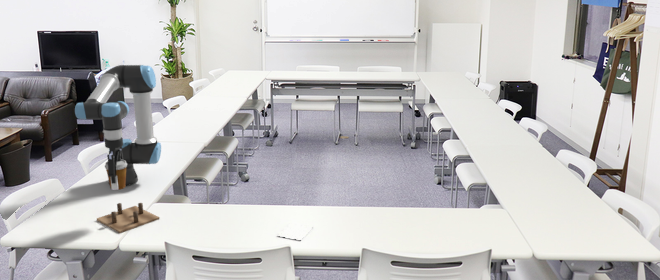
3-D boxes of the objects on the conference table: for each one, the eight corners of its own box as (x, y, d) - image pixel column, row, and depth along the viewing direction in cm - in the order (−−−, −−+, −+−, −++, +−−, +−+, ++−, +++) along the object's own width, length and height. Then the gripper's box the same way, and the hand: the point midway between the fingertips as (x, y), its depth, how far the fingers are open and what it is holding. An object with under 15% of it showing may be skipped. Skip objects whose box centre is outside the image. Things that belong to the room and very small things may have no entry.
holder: (135, 207, 268) (134, 196, 266) (159, 219, 256) (158, 207, 254) (96, 220, 253) (95, 208, 251) (120, 233, 241) (118, 220, 239)
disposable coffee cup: (121, 182, 255) (119, 157, 252) (133, 187, 250) (131, 162, 247) (102, 187, 248) (100, 162, 245) (114, 193, 243) (112, 167, 239)
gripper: (112, 131, 252) (116, 177, 259) (96, 144, 232) (102, 194, 239) (128, 131, 253) (132, 177, 259) (115, 144, 233) (119, 194, 239)
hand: (117, 185), depth 249 cm, fingers closed on disposable coffee cup, 8 cm apart
